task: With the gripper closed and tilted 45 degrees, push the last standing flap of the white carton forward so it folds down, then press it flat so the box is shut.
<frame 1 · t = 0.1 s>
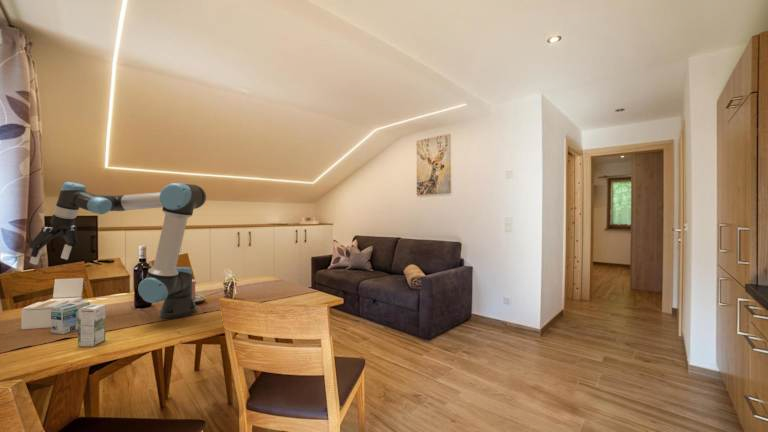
hand: (49, 261, 145), 28 cm above the table, tool tilted 20°, fingers open, 13 cm apart
syrup box: (92, 344, 125), on the table
flap: (68, 287, 157), point 13 cm above the table, hinge at 100.0°
light bulb box: (71, 329, 139), on the table
carton: (54, 320, 147), on the table
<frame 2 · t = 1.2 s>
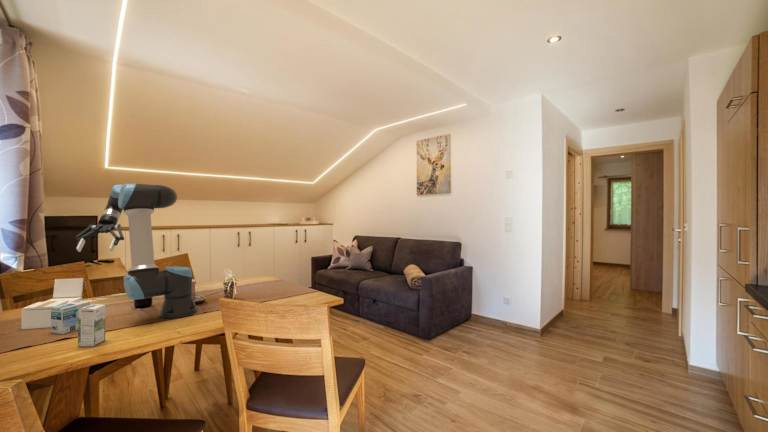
hand: (94, 250, 165), 30 cm above the table, tool tilted 45°, fingers open, 13 cm apart
nothing on the table moved.
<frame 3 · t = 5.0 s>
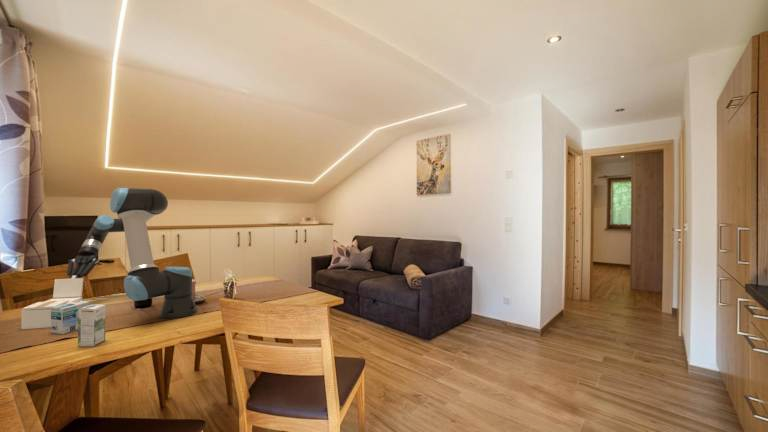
hand: (69, 288, 158), 12 cm above the table, tool tilted 45°, fingers closed
flap: (68, 287, 157), point 13 cm above the table, hinge at 99.9°, touching gripper
everything else where it was.
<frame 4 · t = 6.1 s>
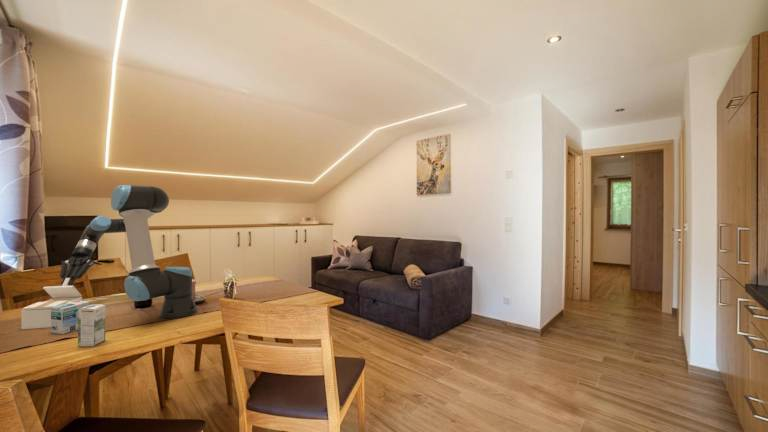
hand: (63, 291, 154), 12 cm above the table, tool tilted 45°, fingers closed
flap: (62, 291, 153), point 12 cm above the table, hinge at 45.4°, touching gripper
everything else where it was.
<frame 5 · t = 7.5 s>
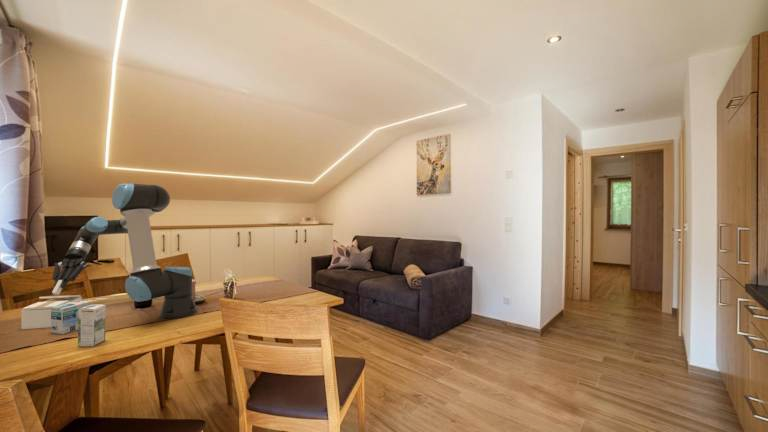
hand: (55, 293, 148), 12 cm above the table, tool tilted 45°, fingers closed
flap: (60, 296, 152), point 10 cm above the table, hinge at 14.2°, touching gripper
everything else where it was.
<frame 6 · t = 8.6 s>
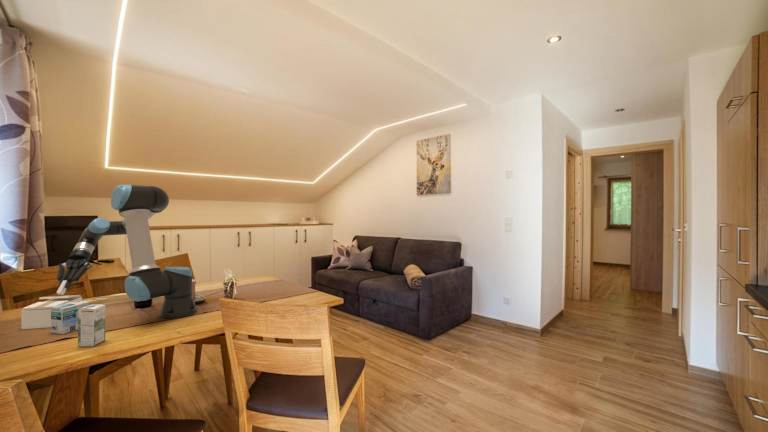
hand: (59, 293, 151), 11 cm above the table, tool tilted 45°, fingers closed
flap: (60, 296, 152), point 10 cm above the table, hinge at 12.2°, touching gripper
everything else where it was.
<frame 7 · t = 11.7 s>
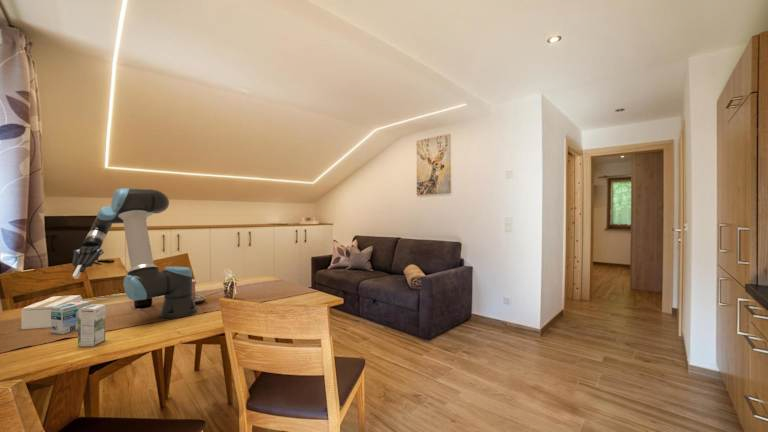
hand: (75, 277, 161), 17 cm above the table, tool tilted 45°, fingers closed
flap: (60, 299, 151), point 9 cm above the table, hinge at -1.8°
everything else where it was.
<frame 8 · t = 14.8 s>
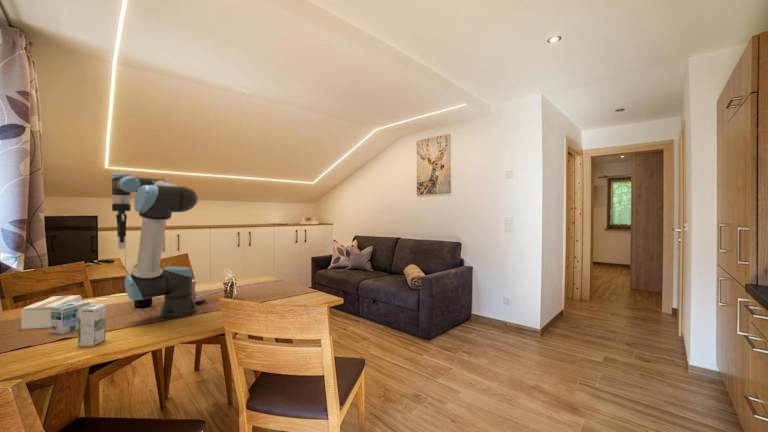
hand: (121, 248, 169), 30 cm above the table, tool pointing down, fingers closed
nothing on the table moved.
at the end: flap at -2° (first picture: +100°) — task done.
